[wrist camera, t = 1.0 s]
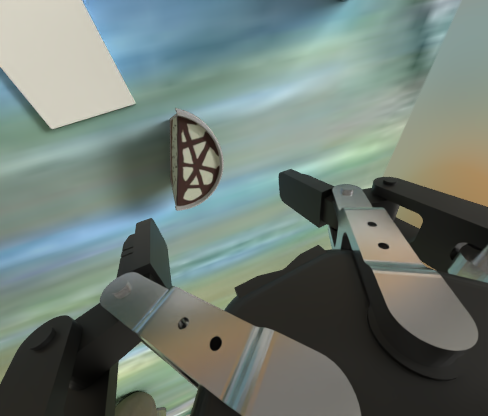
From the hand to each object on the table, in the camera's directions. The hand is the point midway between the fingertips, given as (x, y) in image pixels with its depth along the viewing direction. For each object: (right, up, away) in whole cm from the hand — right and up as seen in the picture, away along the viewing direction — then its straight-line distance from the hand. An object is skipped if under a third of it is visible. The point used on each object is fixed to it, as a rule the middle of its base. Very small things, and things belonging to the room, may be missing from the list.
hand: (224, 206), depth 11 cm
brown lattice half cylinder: (-8, +9, +19) cm, 23 cm away
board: (-20, +18, +8) cm, 28 cm away
